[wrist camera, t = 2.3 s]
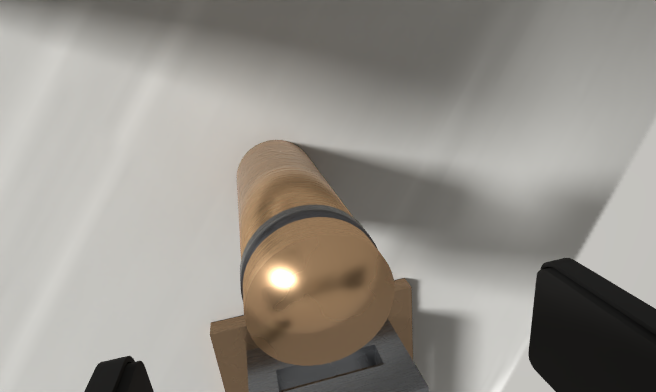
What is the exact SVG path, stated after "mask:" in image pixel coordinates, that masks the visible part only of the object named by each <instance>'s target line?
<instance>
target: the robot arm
mask: <svg viewBox="0 0 656 392" xmlns="http://www.w3.org/2000/svg"><path fill="white" fill-rule="evenodd" d="M529 360H530V362H531V364H532V366H533V368H534V369H535V370H536V371H537V372H538V373H539V374H540V376H541V377H542V378H543V379H544V380H545V381H546V382H547V383H548V384H549V385H550V386H551V387H552V388H553V389H554V390H555V391H556V392H656V309H655V308H653V307H652V306H650V305H648V304H646V303H645V302H643V301H642V300H640V299H638V298H637V297H635V296H633V295H631V294H630V293H628V292H626V291H625V290H623V289H621V288H620V287H618V286H616V285H615V284H613V283H611V282H610V281H608V280H606V279H605V278H603V277H601V276H600V275H598V274H596V273H595V272H593V271H591V270H590V269H588V268H586V267H585V266H583V265H581V264H580V263H578V262H576V261H575V260H573V259H570V258H563V259H559V260H554V261H550V262H546V263H544V264H543V265H542V267H541V270H539V271H538V273H537V278H536V288H535V297H534V307H533V316H532V325H531V335H530V344H529ZM84 392H154V391H153V388H152V386H151V383H150V380H149V377H148V374H147V371H146V369H145V366H144V364H143V362H142V361H137V362H135V361H134V359H133V358H132V357H131V356H126V357H122V358H118V359H113V360H109V361H104V362H101V363H99V364H98V365H97V367H96V368H95V370H94V372H93V375H92V377H91V379H90V381H89V383H88V385H87V387H86V389H85V391H84Z"/></svg>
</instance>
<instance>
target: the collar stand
mask: <svg viewBox="0 0 656 392" xmlns="http://www.w3.org/2000/svg"><path fill="white" fill-rule="evenodd" d="M394 287H395V288H394V300H393V305H392V308H391V311H390V313H389V316H388V318H387V320H386V322H385V323H384V325H383V326H382V328H381V329H380V330H379V332H378V333H377V334H376V335H375V336H374V337H373V338H372V339H371V340H370V341H369V342H368V343H367V344H366V345H365V346H363V347H362V348H360V349H359V350H358V351H356V352H354V353H352V354H351V355H349V356H347V357H345V358H342V359H340V360H337V361H334V362H331V363H327V364H322V365H313V366H301V365H293V364H288V363H284V362H282V361H279V360H276V359H275V358H273V357H271V356H269V355H268V354H266V353H265V352H264V351H262V350H261V349H260V348H259V347H258V346H257V345H256V344H255V342H254V341H253V339H252V338H251V336H250V334H249V332H248V330H247V327H246V323H245V317H244V315H243V316H239V317H234V318H230V319H226V320H221V321H217V322H213V323H211V328H210V337H211V340H212V344H213V348H214V351H215V355H216V359H217V362H218V366H219V370H220V373H221V377H222V381H223V385H224V388H225V392H428V385H427V384H426V382H425V380H424V379H423V377H422V375H421V374H420V372H419V370H418V369H417V367H416V365H415V363H414V362H413V342H412V291H411V286H410V285H409V283H408V282H407V281H406V279H405V278H403V279H399V280H395V281H394Z"/></svg>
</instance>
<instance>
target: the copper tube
mask: <svg viewBox="0 0 656 392" xmlns="http://www.w3.org/2000/svg"><path fill="white" fill-rule="evenodd" d="M237 190H238V209H239V228H240V247H241V265H240V281H241V294H242V299H243V304H244V317H245V323H246V327H247V330H248V332H249V334H250V336H251V338H252V339H253V341H254V342H255V344H256V345H257V346H258V347H259V348H260V349H261V350H262V351H264V352H265V353H266V354H268V355H269V356H271V357H273V358H275V359H276V360H279V361H282V362H284V363H288V364H293V365H301V366H313V365H322V364H327V363H331V362H334V361H337V360H340V359H342V358H345V357H347V356H349V355H351V354H352V353H354V352H356V351H358V350H359V349H360V348H362V347H363V346H365V345H366V344H367V343H368V342H369V341H370V340H371V339H372V338H373V337H374V336H375V335H376V334H377V333H378V332H379V330H380V329H381V328H382V326H383V325H384V323H385V322H386V320H387V318H388V316H389V313H390V311H391V308H392V305H393V300H394V288H395V287H394V279H393V276H392V272H391V270H390V267H389V265H388V264H387V262H386V261H385V259H384V258H383V256H382V255H381V253H380V252H379V251H378V249H377V247H376V245H375V243H374V242H373V240H372V239H371V237H370V236H369V235H368V233H367V232H366V231H365V229H364V228H363V227H362V225H361V224H360V223H359V222H358V221H357V220H356V219H355V218H354V217H353V216H352V215H351V213H350V212H349V211H348V209H347V208H346V207H345V205H344V204H343V203H342V201H341V200H340V199H339V197H338V196H337V195H336V193H335V192H334V191H333V189H332V188H331V187H330V185H329V184H328V183H327V181H326V180H325V179H324V177H323V176H322V175H321V173H320V172H319V171H318V169H317V168H316V167H315V165H314V164H313V162H312V161H311V160H310V158H309V157H308V156H307V154H306V153H305V152H304V151H303V150H302V149H301V148H299V147H298V146H296V145H295V144H292V143H290V142H287V141H282V140H270V141H266V142H263V143H260V144H258V145H256V146H254V147H253V148H252V149H250V150H249V151H248V152H247V153H246V154H245V156H244V157H243V159H242V160H241V162H240V164H239V167H238V171H237Z"/></svg>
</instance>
